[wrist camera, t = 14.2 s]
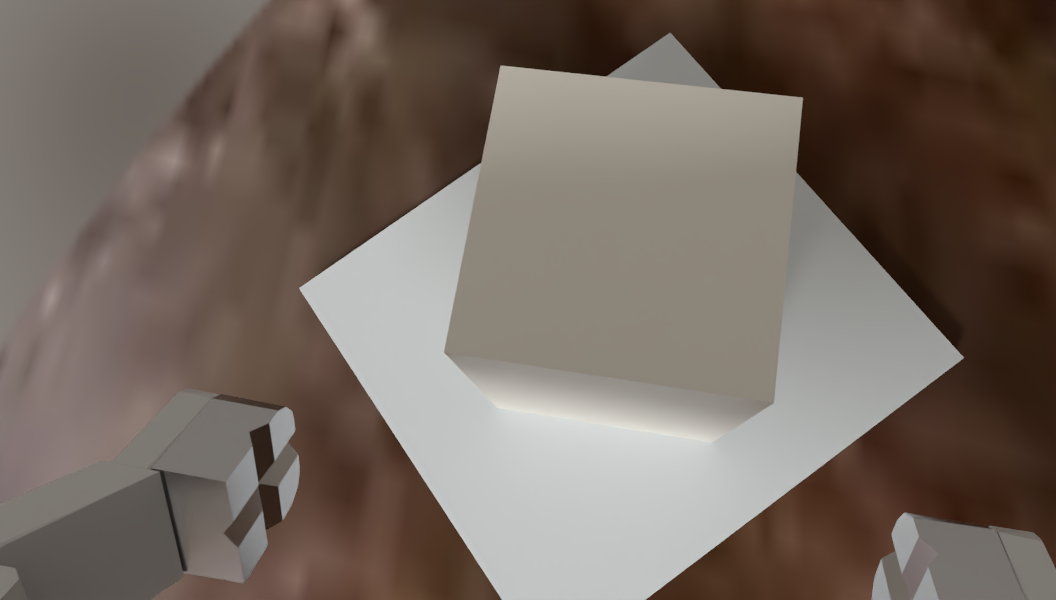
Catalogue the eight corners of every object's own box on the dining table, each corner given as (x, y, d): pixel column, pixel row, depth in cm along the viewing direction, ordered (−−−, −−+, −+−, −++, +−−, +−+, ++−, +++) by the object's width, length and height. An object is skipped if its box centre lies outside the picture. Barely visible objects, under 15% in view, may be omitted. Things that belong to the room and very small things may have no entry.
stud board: (667, 47, 24) (688, -92, 19) (950, 363, 21) (1076, 309, 16) (309, 295, 23) (216, 226, 18) (551, 666, 20) (532, 724, 15)
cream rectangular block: (532, 209, 22) (500, 65, 15) (735, 235, 22) (802, 97, 15) (496, 408, 21) (443, 352, 14) (712, 442, 20) (773, 402, 13)
